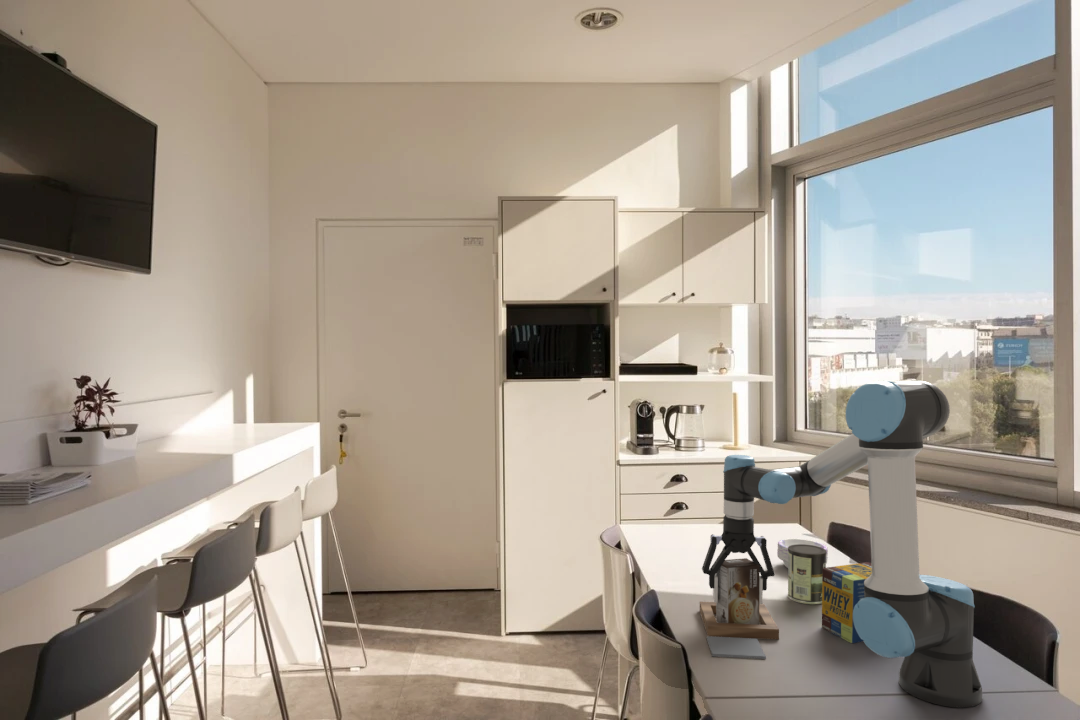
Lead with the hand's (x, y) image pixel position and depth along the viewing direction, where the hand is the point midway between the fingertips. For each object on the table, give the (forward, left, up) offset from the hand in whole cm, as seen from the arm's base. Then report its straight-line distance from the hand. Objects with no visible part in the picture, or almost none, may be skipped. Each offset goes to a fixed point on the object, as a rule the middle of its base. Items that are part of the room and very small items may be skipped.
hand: (737, 601), depth 183 cm
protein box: (-1, -30, -6) cm, 31 cm away
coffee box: (0, 0, -6) cm, 6 cm away
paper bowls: (+50, -29, -6) cm, 58 cm away
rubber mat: (-15, +3, -6) cm, 16 cm away
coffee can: (+22, -23, -6) cm, 32 cm away
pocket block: (0, 0, -6) cm, 6 cm away
